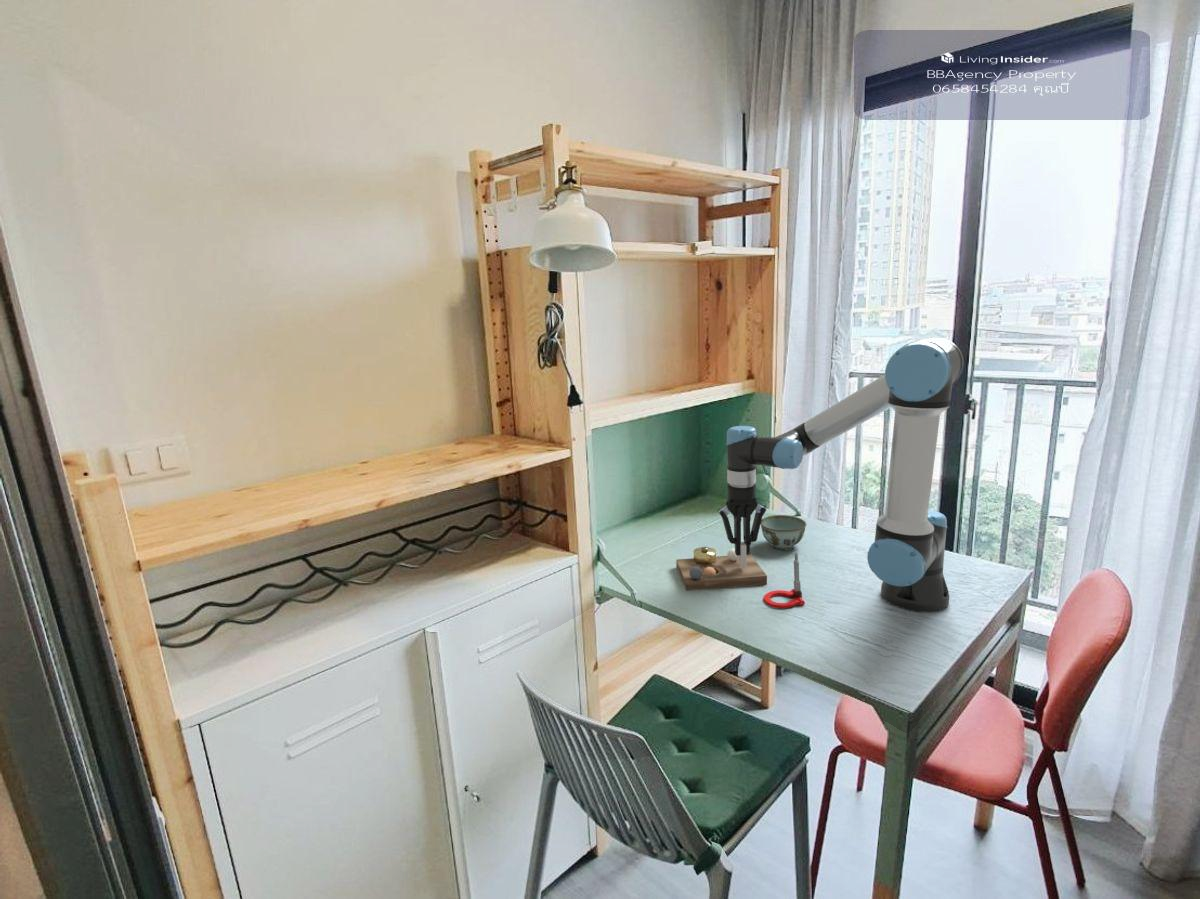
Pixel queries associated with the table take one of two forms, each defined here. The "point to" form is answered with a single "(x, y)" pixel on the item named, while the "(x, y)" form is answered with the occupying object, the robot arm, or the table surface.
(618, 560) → the table surface
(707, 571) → the ball
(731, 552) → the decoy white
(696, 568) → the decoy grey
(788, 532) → the bowl
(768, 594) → the tow hook
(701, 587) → the brown wooden flat board
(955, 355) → the robot arm
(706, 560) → the cover
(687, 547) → the table surface
